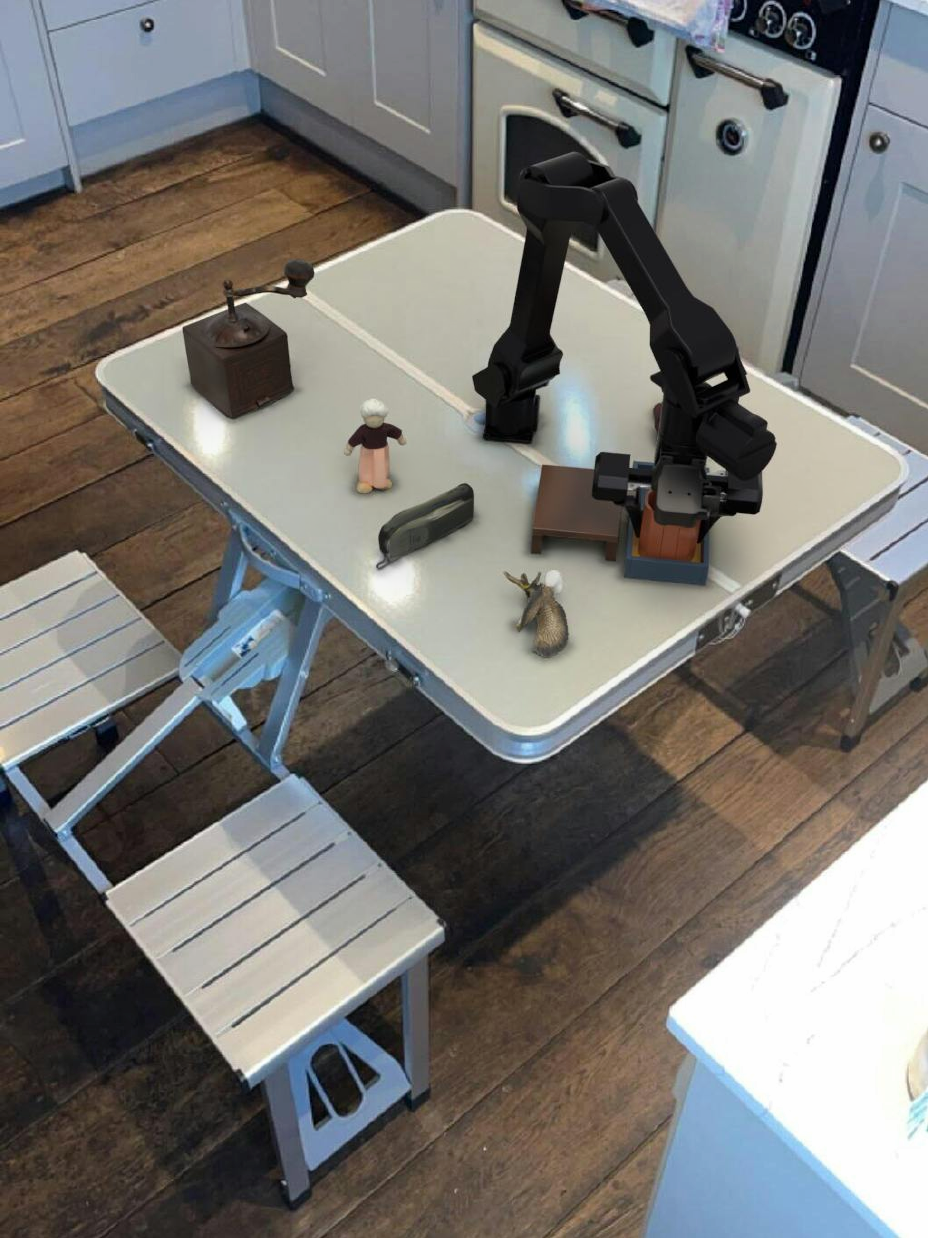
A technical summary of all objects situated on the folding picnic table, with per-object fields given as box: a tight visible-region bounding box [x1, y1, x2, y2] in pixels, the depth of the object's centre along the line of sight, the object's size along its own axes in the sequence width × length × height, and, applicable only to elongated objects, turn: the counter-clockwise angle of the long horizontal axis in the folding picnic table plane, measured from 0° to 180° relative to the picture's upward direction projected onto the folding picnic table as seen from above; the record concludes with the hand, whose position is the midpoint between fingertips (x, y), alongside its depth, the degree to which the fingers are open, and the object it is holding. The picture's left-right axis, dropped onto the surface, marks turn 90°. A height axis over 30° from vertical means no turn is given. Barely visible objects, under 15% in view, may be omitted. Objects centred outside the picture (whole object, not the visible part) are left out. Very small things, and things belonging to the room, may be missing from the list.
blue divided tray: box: [623, 460, 711, 586], centre depth 155 cm, size 9×18×3 cm, turn 172°
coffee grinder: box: [181, 258, 316, 420], centre depth 170 cm, size 16×11×18 cm
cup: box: [638, 489, 701, 562], centre depth 149 cm, size 7×7×8 cm
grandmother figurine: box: [343, 398, 407, 494], centre depth 157 cm, size 8×4×13 cm, turn 117°
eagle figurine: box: [503, 569, 570, 658], centre depth 142 cm, size 8×7×9 cm
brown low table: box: [530, 464, 622, 562], centre depth 155 cm, size 10×12×4 cm
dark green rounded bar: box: [375, 482, 475, 570], centre depth 152 cm, size 5×3×15 cm
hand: (667, 538), depth 151 cm, fingers closed on cup, 7 cm apart
